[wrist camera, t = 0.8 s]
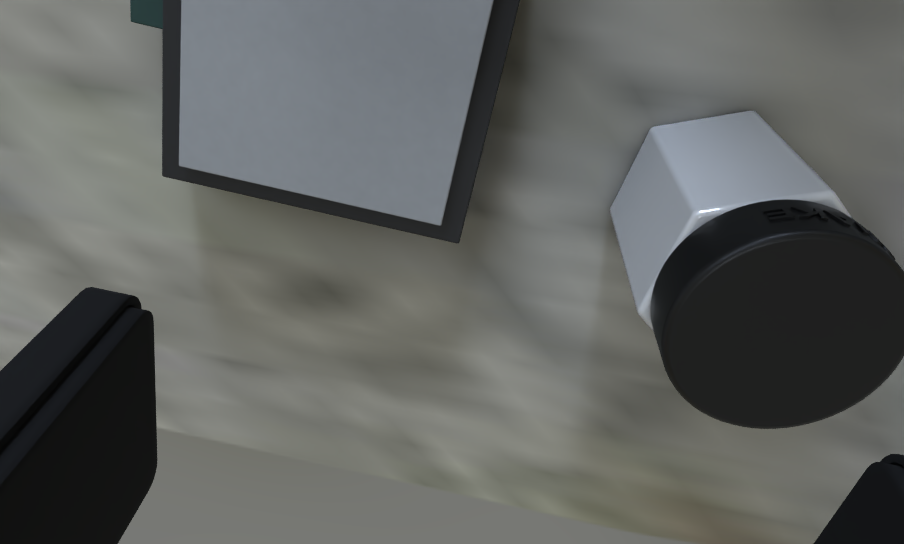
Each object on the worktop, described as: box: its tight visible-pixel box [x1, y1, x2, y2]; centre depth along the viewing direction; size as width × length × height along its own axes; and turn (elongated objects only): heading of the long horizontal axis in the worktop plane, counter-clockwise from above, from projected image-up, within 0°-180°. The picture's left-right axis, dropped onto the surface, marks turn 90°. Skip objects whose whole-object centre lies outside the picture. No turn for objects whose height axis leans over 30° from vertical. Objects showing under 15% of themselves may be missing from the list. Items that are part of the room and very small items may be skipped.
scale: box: [130, 0, 520, 243], centre depth 30 cm, size 14×16×4 cm
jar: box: [610, 111, 904, 429], centre depth 29 cm, size 9×8×12 cm
